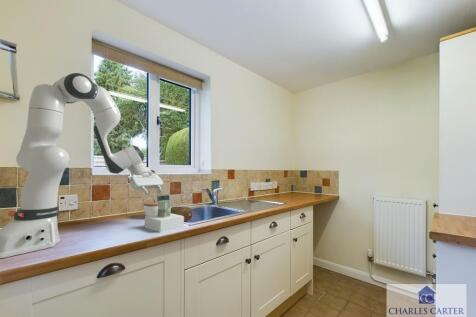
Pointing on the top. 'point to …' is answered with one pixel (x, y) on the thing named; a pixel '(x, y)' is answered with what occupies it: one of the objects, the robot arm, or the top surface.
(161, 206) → the sage block
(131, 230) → the top surface
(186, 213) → the brown rounded slab
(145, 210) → the lidded bowl
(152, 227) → the white square box
